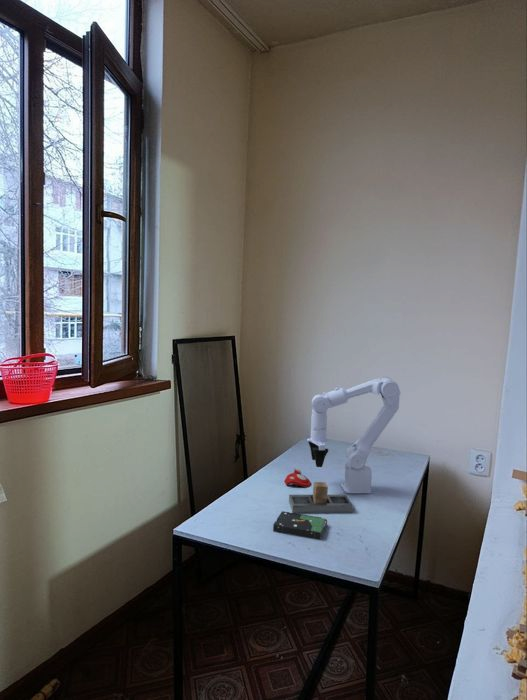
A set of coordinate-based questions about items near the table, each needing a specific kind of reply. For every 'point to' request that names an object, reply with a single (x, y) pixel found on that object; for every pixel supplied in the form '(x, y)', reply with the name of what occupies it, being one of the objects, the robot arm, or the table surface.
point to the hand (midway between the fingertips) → (317, 463)
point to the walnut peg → (320, 492)
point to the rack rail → (320, 504)
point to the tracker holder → (297, 479)
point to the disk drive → (300, 525)
